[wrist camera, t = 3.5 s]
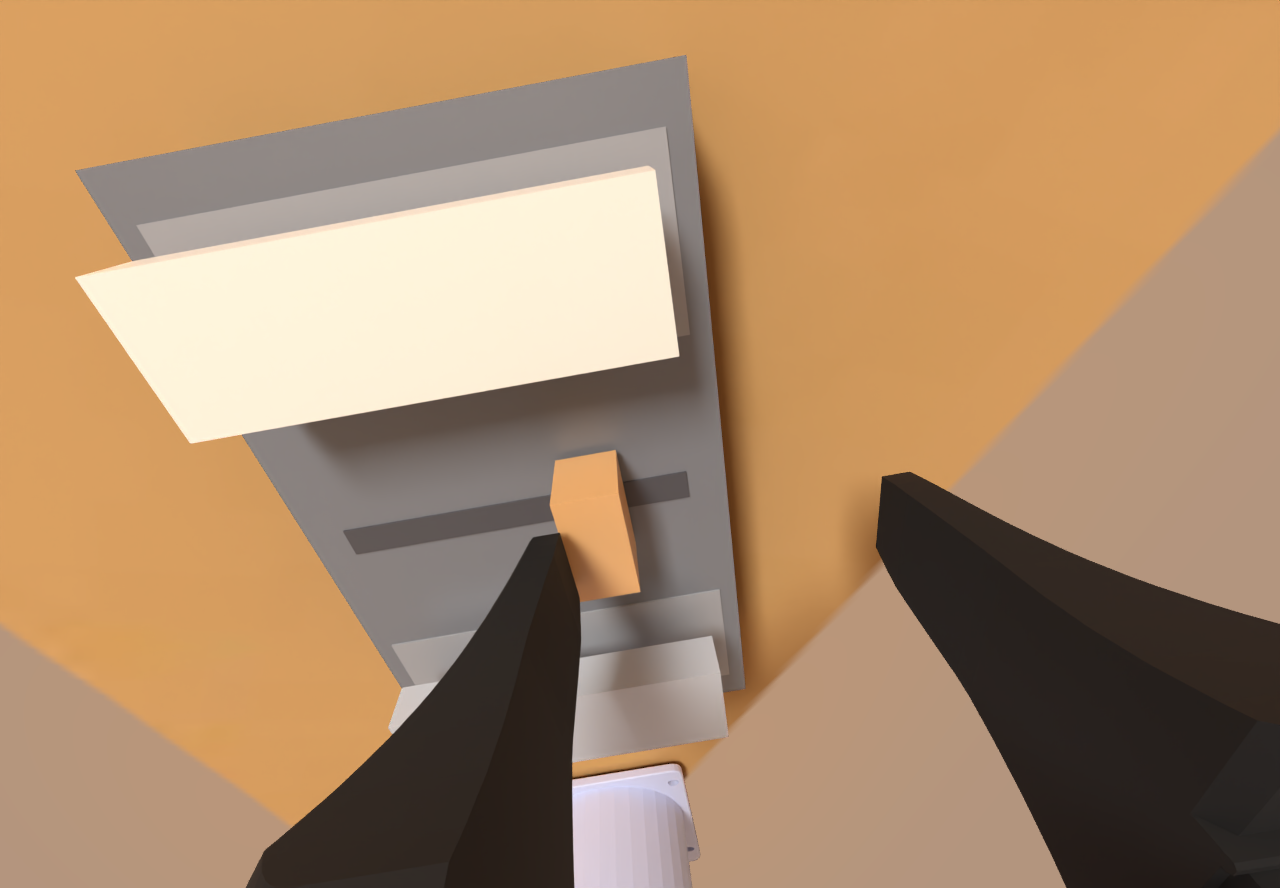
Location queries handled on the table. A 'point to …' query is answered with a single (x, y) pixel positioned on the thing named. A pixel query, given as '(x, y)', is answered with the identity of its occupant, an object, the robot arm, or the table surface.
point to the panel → (490, 420)
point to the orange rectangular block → (595, 525)
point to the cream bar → (399, 306)
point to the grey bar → (633, 699)
